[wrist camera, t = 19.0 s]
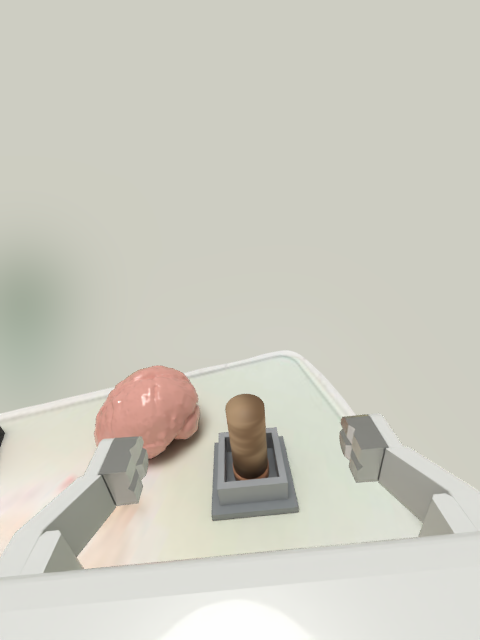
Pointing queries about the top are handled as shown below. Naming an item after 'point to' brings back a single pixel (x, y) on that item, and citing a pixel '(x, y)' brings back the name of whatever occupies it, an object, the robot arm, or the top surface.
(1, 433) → the ammunition clip
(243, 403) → the brown rounded peg
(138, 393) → the brain
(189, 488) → the top surface
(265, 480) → the socket block
